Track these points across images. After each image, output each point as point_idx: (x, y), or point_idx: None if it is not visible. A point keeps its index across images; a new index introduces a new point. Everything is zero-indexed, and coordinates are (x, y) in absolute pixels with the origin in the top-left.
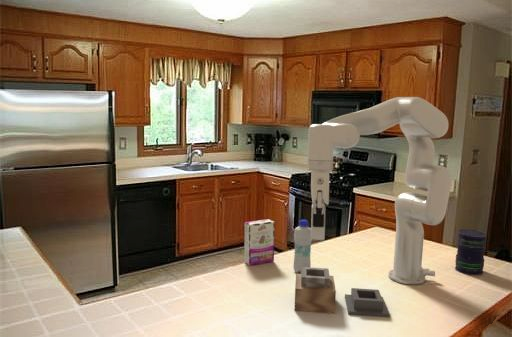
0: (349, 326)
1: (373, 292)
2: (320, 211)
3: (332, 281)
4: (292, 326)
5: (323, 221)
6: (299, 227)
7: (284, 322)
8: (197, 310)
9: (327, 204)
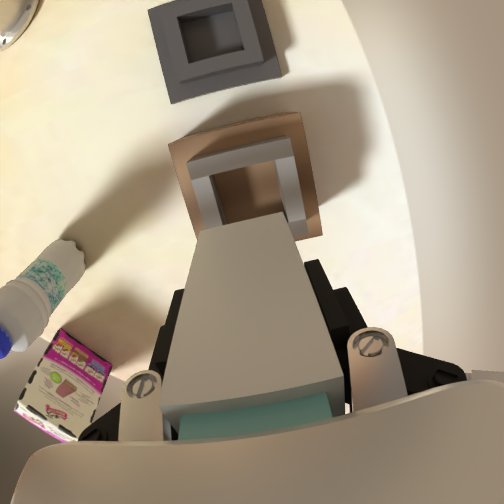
0: (344, 72)
1: (178, 20)
2: (422, 369)
3: (220, 135)
4: (383, 199)
5: (327, 284)
6: (15, 344)
7: (370, 219)
8: None
9: (480, 380)
